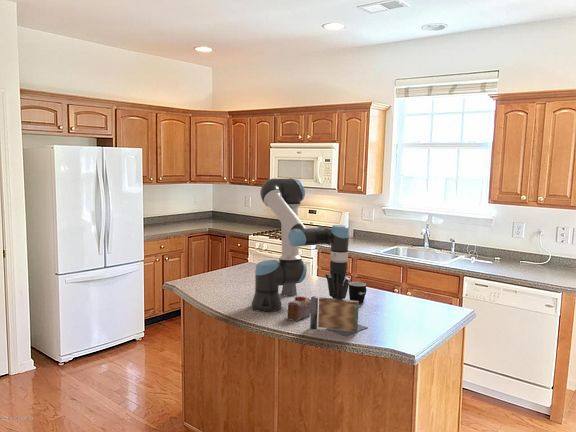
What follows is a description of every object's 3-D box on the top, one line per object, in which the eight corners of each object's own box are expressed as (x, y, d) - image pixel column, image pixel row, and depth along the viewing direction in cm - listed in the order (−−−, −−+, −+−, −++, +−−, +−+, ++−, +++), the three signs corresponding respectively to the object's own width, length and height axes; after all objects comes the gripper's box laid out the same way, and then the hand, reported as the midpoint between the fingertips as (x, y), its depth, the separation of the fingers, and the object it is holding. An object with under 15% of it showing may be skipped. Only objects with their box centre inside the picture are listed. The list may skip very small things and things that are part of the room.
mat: (326, 329, 205) (326, 328, 205) (348, 321, 215) (348, 320, 215) (345, 336, 197) (345, 335, 197) (367, 328, 208) (367, 327, 207)
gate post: (308, 328, 206) (309, 297, 204) (313, 326, 208) (314, 296, 206) (313, 329, 203) (314, 298, 202) (318, 328, 206) (319, 297, 204)
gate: (318, 327, 204) (318, 298, 202) (319, 325, 206) (319, 297, 205) (356, 332, 199) (358, 302, 198) (357, 330, 202) (358, 301, 200)
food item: (299, 311, 229) (300, 292, 228) (313, 314, 225) (314, 294, 224) (285, 319, 217) (286, 298, 216) (300, 322, 213) (301, 301, 212)
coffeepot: (281, 297, 253) (282, 264, 251) (275, 292, 261) (275, 261, 259) (307, 295, 259) (308, 263, 257) (300, 290, 267) (300, 259, 265)
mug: (358, 306, 240) (359, 287, 239) (344, 302, 246) (345, 283, 245) (372, 302, 248) (373, 283, 247) (358, 298, 255) (359, 280, 254)
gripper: (322, 259, 205) (320, 311, 208) (344, 264, 196) (342, 318, 198) (333, 257, 210) (331, 308, 213) (355, 262, 201) (353, 315, 203)
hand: (336, 313), depth 205 cm, fingers closed
